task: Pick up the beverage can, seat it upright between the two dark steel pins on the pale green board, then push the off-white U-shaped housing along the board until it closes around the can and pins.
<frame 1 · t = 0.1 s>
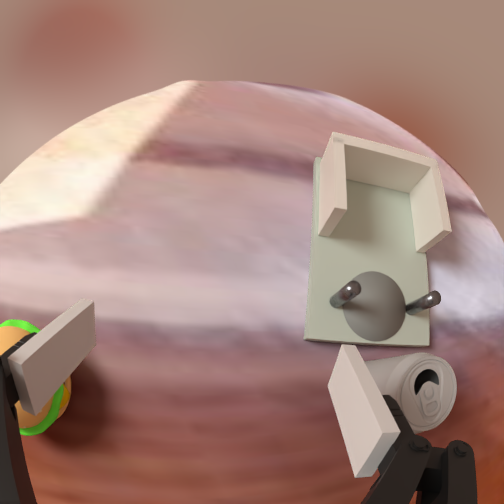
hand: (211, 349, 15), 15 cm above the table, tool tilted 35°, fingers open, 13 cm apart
beverage can: (363, 390, 29), on the table
board: (369, 250, 35), on the table
hamburger: (39, 379, 27), on the table
housing: (383, 194, 32), point 5 cm above the table, slide at 0.0 cm
pins: (369, 308, 32), resting on board
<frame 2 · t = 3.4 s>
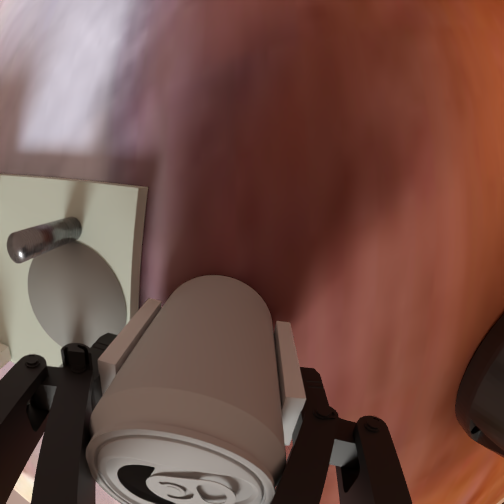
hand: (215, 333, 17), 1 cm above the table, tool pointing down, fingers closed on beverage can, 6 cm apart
beverage can: (218, 320, 18), on the table, touching gripper
board: (11, 272, 18), on the table
pins: (83, 293, 18), resting on board
when the fingers open (4 cm above the table, at t = 7.3 s): beverage can stays where it is, resting on board.
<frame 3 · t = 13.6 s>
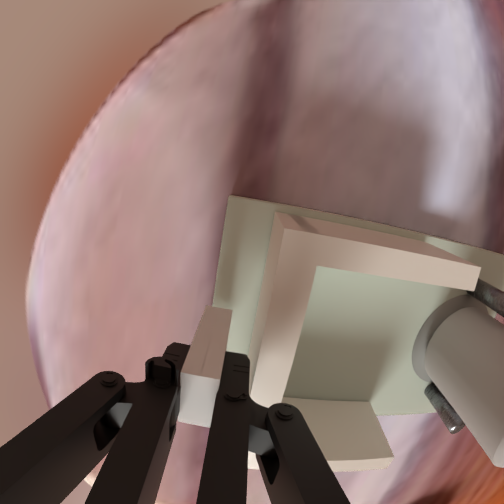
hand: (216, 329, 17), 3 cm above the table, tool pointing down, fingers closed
beverage can: (453, 340, 20), point 1 cm above the table, touching board
board: (370, 326, 21), on the table
housing: (341, 356, 16), point 5 cm above the table, slide at 1.4 cm, touching gripper
pins: (444, 332, 21), resting on board
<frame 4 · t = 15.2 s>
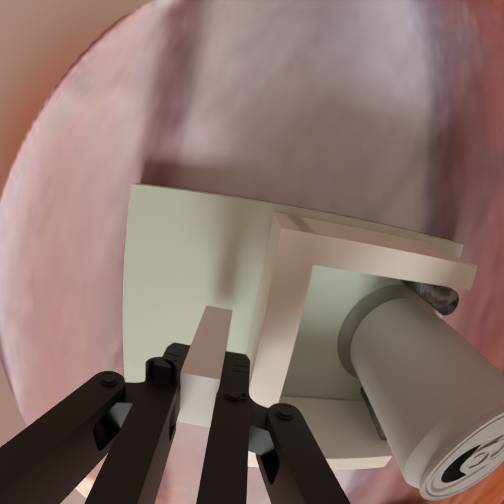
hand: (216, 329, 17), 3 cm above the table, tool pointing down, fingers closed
beverage can: (389, 335, 20), point 1 cm above the table, touching board
board: (289, 316, 21), on the table
housing: (339, 355, 16), point 5 cm above the table, slide at 7.3 cm, touching gripper
pins: (382, 327, 21), resting on board
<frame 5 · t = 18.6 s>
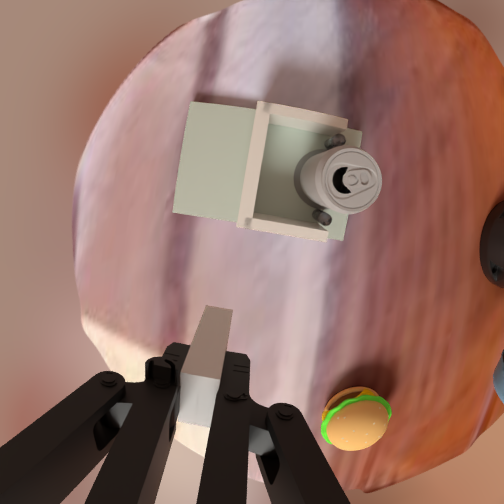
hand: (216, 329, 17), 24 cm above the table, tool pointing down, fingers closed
beverage can: (324, 179, 38), point 1 cm above the table, touching board
board: (267, 169, 39), on the table
hamburger: (350, 405, 48), on the table
housing: (290, 171, 34), point 5 cm above the table, slide at 7.3 cm
pins: (321, 179, 39), resting on board
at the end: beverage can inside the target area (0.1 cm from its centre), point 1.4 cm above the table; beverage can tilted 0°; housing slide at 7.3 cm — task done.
